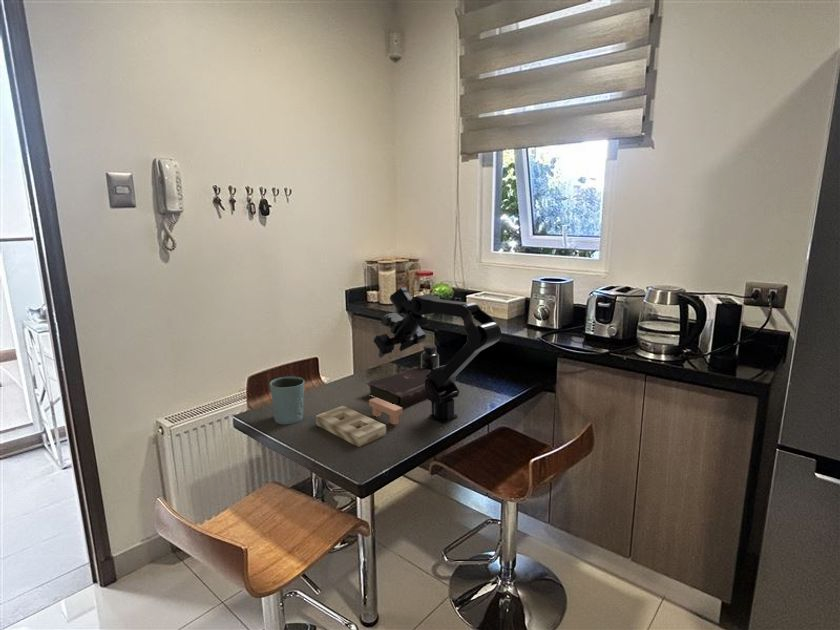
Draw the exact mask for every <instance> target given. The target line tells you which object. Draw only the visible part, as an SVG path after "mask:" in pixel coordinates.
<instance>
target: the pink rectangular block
mask: <svg viewBox="0 0 840 630" xmlns="http://www.w3.org/2000/svg"><path fill="white" fill-rule="evenodd" d="M368 406H369V407H370V408H372V416H373V415H374V416H373V417H375V416H376V418H378V417H381V416H382V413H384V414H387V415H389V424H392V425H393V424H394V426H396V425H398V424H400V416H401V415H403V413H404V412H403V411H404V408H402V407H403V406H400V405H395V404H392V403H390V402H387V401H384V400H382V399H379V398H377V397H375V398H370V399H369V400H368ZM380 415H381V416H380ZM377 416H378V417H377Z"/></svg>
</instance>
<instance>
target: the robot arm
mask: <svg viewBox="0 0 840 630" xmlns="http://www.w3.org/2000/svg"><path fill="white" fill-rule="evenodd" d="M389 301H390V302H391V303H392V305H393V307H394V308H395V309H396V311H397V312H398V313H397V312H391V313H390V312H389V313H387V314H385V315H383V317H382V318H381V321H380V322H381V324H382V325H383V326H384V327H388V328H390V333H391V334H393V337H389V335H388V334H387V333H385V332H384V333H380V334H377V335H375V337H374V338H373V342H374V344H375V346H377V348H378V349H379V352H378V357H379V358H380V359H382V358H384V357H385V356H388V355H389V354H392V351H394V350H395V345H399V344H400V346H399V351H400V352H403V351H405V350H406V349H409V348H411V347H413V346H415V345H418V344H420V343H422V342H424V341H425V339H426V333H425V332H424V330H423V329H422V328H421V327H426V326H429V320H428V317H427V316H425V315H429V314H438V315H446V316H453V317H459V318H461V319H462V321H463V327H464V330H465V332H466V333H467V336H466V342H465V344H464V345H463V346H462V347H461V348H460V349H459V350H458V351H457V352H456V353H455V354H454V355H453V356H452V358H451V359H449V361H448V362H447V363H446V364H444V365H439V367H437V368H434V369H432V370H431V372H430V373H429V374H428V375H426V377H427V378H426V379H425V389H426V393H427V397H428V398H427V399H428V401H430V402H431V414H428V417H429V418H430V419H432V420H435V421H438V422H440V423H443V424H445V423H448V422H450V421H452V420H453V419H456V418H457V417H458V414H456V413H455V399H454V398H458V397H459V395H460V390H459V388H458V387H457V385H456V378H457V376H458V375H459V374H460V373H461V371H463V370H464V369H465V367H467V366H468V365H469V364H470V363H471V362H472V361H473V360H474V358H475V357H476V356H477V355H479V354H480V352H482V351H484V350H485V349H487V348H489V347H491V346H493V345H495V344H496V343H497V342H499V341H500V340H501V338H502V331H501V327H500V326H499V324H498V323H496V322H495V320H494V318H493V317H492V316H490V314H488V313H487V312H485V311H484V310H482V308H481V307H480V306H479V304H478V303H476V302H473V301H471V302H466V301H465V302H464V301H456V300H449V299H442V298H439V296H437V295H434V294H431V293H427V294H421V295H415V296H413V297H412V295H410V293H409V292H408V289H407V288H406V287H404V286H403V287H400V288H399V289H398V290H396V291H395V292H394V293H392V294H391V295H390V296H389ZM399 314H403V315H404V316H401V315H399ZM473 319H475V320H476V321H477V322H479V323H480V324H478V325H476V324H475V322H474V320H473Z"/></svg>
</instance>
